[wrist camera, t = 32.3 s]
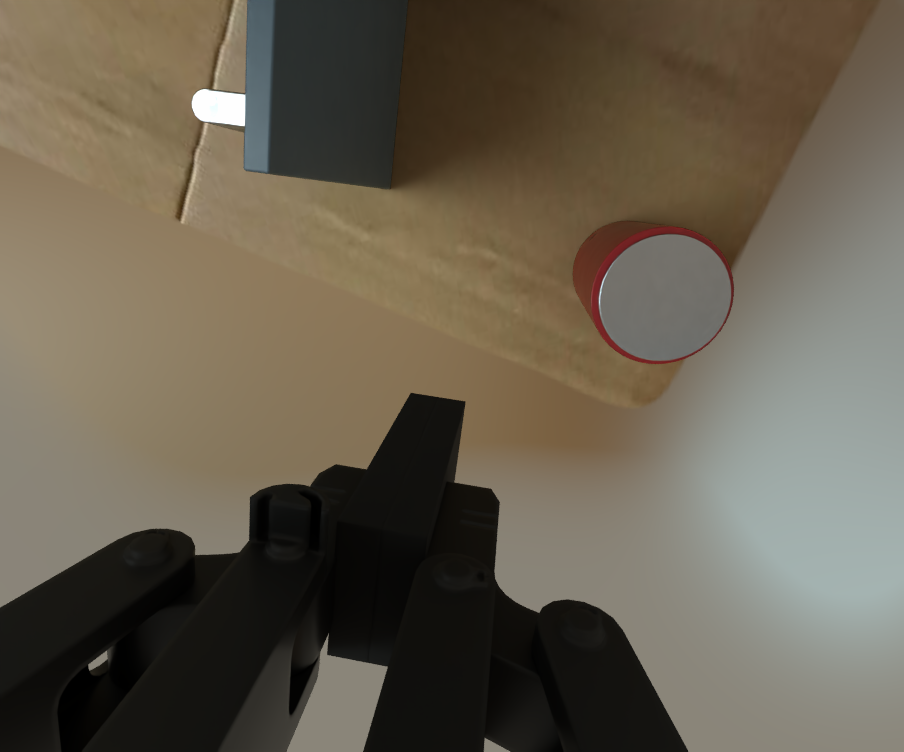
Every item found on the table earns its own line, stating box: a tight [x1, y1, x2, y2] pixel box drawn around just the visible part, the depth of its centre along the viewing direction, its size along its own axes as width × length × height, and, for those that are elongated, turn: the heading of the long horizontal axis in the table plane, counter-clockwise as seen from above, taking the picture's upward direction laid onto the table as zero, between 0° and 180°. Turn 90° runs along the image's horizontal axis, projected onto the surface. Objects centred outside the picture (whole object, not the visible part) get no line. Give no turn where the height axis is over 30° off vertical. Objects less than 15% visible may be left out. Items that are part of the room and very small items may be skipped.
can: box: [573, 221, 734, 364], centre depth 33 cm, size 7×7×12 cm
